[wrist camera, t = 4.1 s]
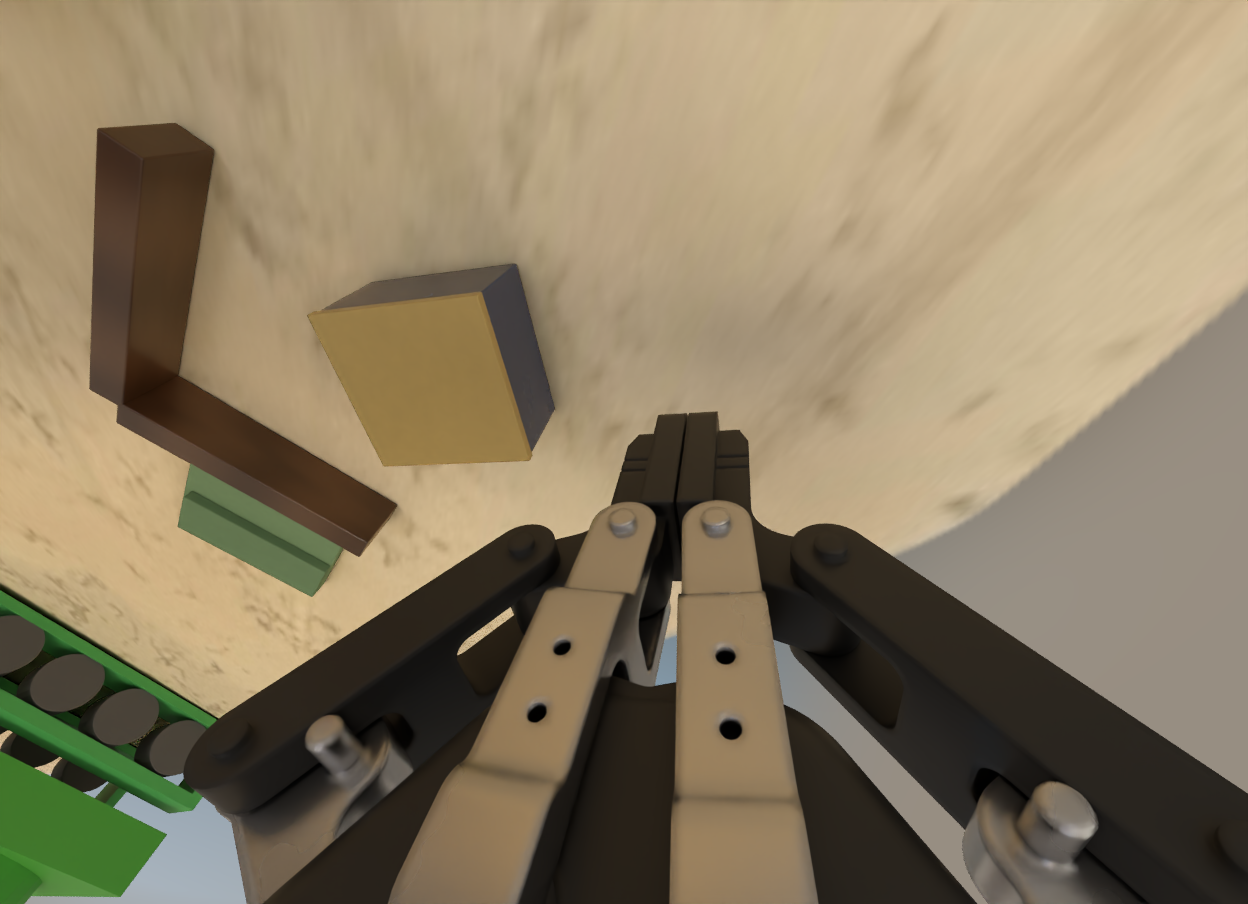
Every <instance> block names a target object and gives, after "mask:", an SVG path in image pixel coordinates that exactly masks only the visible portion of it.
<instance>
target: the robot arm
mask: <svg viewBox="0 0 1248 904" xmlns="http://www.w3.org/2000/svg"><path fill="white" fill-rule="evenodd" d="M624 460H625V461H624V462H623V465H622V469H621V470H622V471H621V472H620V476H619V479H618V483H617V486H616V489H615V493H614V496H613V500H612V503H611V506H609V507H607V508H605V509H603V510H602V511H600V512H599V513H598V514H597V515H596V516H595V518H594V519H593V521H592V523H591V526H590V528H589V530H588V531H586V532H583V533H580V534H577V535H573V536H569V537H565V538H561V539H557V540H555V537H554V534H553V533H552V531H551V530H550V529H548V528H546V527H544V526H541V525H533V524H531V525H524V526H520V527H516V528H514V529H512V530H510V531H508V532H506V533H505V534H503V535H501V536H500V537H498V538H497V539H495V540H494V541H492V542H491V543H489V544H487V545H486V546H484V547H483V548H481V549H480V550H478V551H477V552H475V553H474V554H472V555H470V556H469V557H467V558H466V559H464V560H463V561H461V562H460V563H458V564H457V565H455V566H453V567H452V568H450V569H449V570H447V571H446V572H444V573H443V574H441V575H440V576H438V577H436V578H435V579H433V580H432V581H430V582H429V583H427V584H426V585H424V586H423V587H421V588H419V589H418V590H416V591H415V592H413V593H412V594H410V595H409V596H407V597H406V598H404V599H402V600H401V601H399V602H398V603H396V604H395V605H393V606H392V607H390V608H389V609H387V610H385V611H384V612H382V613H381V614H379V615H378V616H376V617H375V618H373V619H371V620H370V621H368V622H367V623H365V624H364V625H362V626H361V627H359V628H358V629H356V630H354V631H353V632H351V633H350V634H348V635H347V636H345V637H344V638H342V639H341V640H339V641H337V642H336V643H334V644H333V645H331V646H330V647H328V648H327V649H325V650H324V651H322V652H320V653H319V654H317V655H316V656H314V657H313V658H311V659H310V660H308V661H307V662H305V663H303V664H302V665H300V666H299V667H297V668H296V669H294V670H293V671H291V672H290V673H288V674H286V675H285V676H283V677H282V678H280V679H279V680H277V681H276V682H274V683H273V684H271V685H269V686H268V687H266V688H265V689H263V690H262V691H260V692H259V693H257V694H256V695H254V696H252V697H251V698H249V699H248V700H246V701H245V702H243V703H242V704H240V705H238V706H237V707H235V708H234V709H232V710H231V711H229V712H228V713H226V714H225V715H223V716H222V717H221V718H219V719H218V720H217V721H216V722H214V723H213V724H212V725H211V726H210V727H209V728H208V729H207V730H206V731H205V732H204V733H203V734H202V735H201V736H200V738H199V739H198V740H197V742H196V743H195V744H194V746H193V747H192V749H191V751H190V752H189V754H188V757H187V759H186V762H185V765H184V771H183V775H184V780H185V782H186V783H187V784H188V785H189V786H190V787H191V788H192V789H194V790H195V791H196V792H197V793H199V794H200V795H201V796H203V797H204V798H205V799H207V800H208V801H209V802H210V803H212V804H213V805H215V808H216V810H217V811H218V812H219V813H220V814H221V815H222V816H223V817H225V818H226V819H227V820H229V821H230V822H231V823H232V828H233V833H234V838H235V844H236V849H237V854H238V860H239V864H240V870H241V876H242V881H243V886H244V891H245V897H246V902H247V904H977V903H976V902H975V901H974V899H973V898H972V897H971V896H970V895H969V894H968V893H967V891H966V890H965V889H964V888H963V887H962V886H961V884H960V883H959V882H958V881H957V880H956V879H955V878H954V876H953V875H952V874H951V873H950V872H949V870H948V869H947V868H946V867H945V866H944V865H943V864H942V862H941V861H940V860H939V859H938V858H937V857H936V856H935V854H934V853H933V852H932V851H931V850H930V848H929V847H928V846H927V845H926V844H925V843H924V842H923V840H922V839H921V838H920V837H919V836H918V835H917V833H916V832H915V831H914V830H913V829H912V828H911V827H910V825H909V824H908V823H907V822H906V821H905V820H904V818H903V817H902V816H901V815H900V814H899V813H898V811H897V810H896V809H895V808H894V807H893V806H892V805H891V803H890V802H889V801H888V800H887V799H886V797H885V796H884V795H883V794H882V793H881V792H880V790H878V788H877V787H876V786H875V785H874V784H873V782H872V781H871V780H870V779H869V778H868V777H867V775H866V774H865V773H864V772H863V771H862V770H861V768H860V767H859V766H858V765H857V764H856V763H855V761H854V760H853V759H852V758H851V757H850V756H849V755H848V753H847V752H846V751H845V750H844V749H843V748H842V746H841V745H840V744H839V743H838V742H837V741H836V740H835V739H834V738H833V737H832V736H831V735H830V734H829V733H827V732H826V731H825V730H824V729H823V728H822V727H820V726H819V725H818V724H817V723H815V722H814V721H812V720H811V719H810V718H808V717H807V716H805V715H803V714H801V713H800V712H798V711H796V710H795V709H793V708H790V707H788V706H786V705H784V704H783V698H782V691H781V685H780V679H779V673H778V666H777V660H776V654H775V648H774V642H773V640H776V641H779V642H782V643H785V644H788V645H790V649H791V651H792V653H793V655H794V657H795V658H796V659H797V660H798V661H799V662H800V663H801V664H802V665H803V666H804V667H805V668H806V669H807V670H808V671H809V672H810V673H811V674H812V675H813V676H814V677H815V678H816V679H817V680H818V681H819V682H820V683H821V684H822V685H823V686H824V687H825V689H826V690H827V691H828V692H829V693H830V694H831V695H832V696H833V697H834V698H836V700H837V701H838V702H839V703H840V704H841V705H842V706H843V707H844V708H845V709H846V710H847V711H848V712H849V713H850V714H851V715H852V716H853V717H854V718H855V719H856V720H857V721H858V722H859V723H860V724H861V725H862V726H863V727H864V728H865V729H866V730H867V731H868V732H869V733H870V734H871V735H872V736H873V737H874V738H875V739H876V740H877V741H878V742H879V743H880V744H881V745H882V746H883V747H884V748H885V749H886V750H887V751H888V752H889V753H890V754H891V755H892V756H893V757H894V758H895V759H896V760H897V761H898V762H899V763H900V764H901V766H903V768H904V769H905V770H907V771H908V773H909V774H910V775H911V776H912V777H913V778H914V779H915V780H916V781H917V782H918V783H919V784H920V785H921V786H922V787H923V788H924V789H925V790H926V791H927V792H928V793H929V794H930V795H931V796H932V797H933V798H934V799H935V800H936V801H937V802H938V803H939V804H940V805H941V806H942V807H943V808H944V809H945V810H946V811H947V812H948V813H949V814H950V815H951V816H952V817H953V818H954V819H955V820H956V821H957V822H958V823H959V824H960V825H961V826H962V827H963V828H964V829H965V832H964V836H963V841H962V843H963V844H962V850H963V856H964V861H965V865H966V867H967V870H968V873H969V875H970V877H971V879H972V881H973V883H974V884H975V886H976V888H977V889H978V891H979V892H980V893H981V895H982V896H983V898H984V899H985V900H986V901H987V903H988V904H1248V793H1246V792H1245V791H1243V790H1242V789H1240V788H1239V787H1237V786H1236V785H1234V784H1232V783H1231V782H1230V781H1228V780H1226V779H1225V778H1224V777H1222V776H1221V775H1219V774H1218V773H1216V772H1215V771H1213V770H1212V769H1210V768H1209V767H1207V766H1206V765H1204V764H1203V763H1201V762H1200V761H1198V760H1197V759H1195V758H1194V757H1192V756H1190V755H1189V754H1188V753H1186V752H1185V751H1183V750H1182V749H1180V748H1179V747H1177V746H1176V745H1174V744H1173V743H1171V742H1170V741H1168V740H1167V739H1165V738H1164V737H1162V736H1161V735H1159V734H1158V733H1156V732H1155V731H1153V730H1152V729H1150V728H1149V727H1147V726H1146V725H1144V724H1143V723H1141V722H1140V721H1138V720H1137V719H1135V718H1134V717H1132V716H1131V715H1129V714H1128V713H1126V712H1125V711H1123V710H1122V709H1120V708H1119V707H1117V706H1116V705H1114V704H1113V703H1111V702H1110V701H1108V700H1107V699H1105V698H1104V697H1102V696H1101V695H1099V694H1098V693H1096V692H1095V691H1093V690H1092V689H1090V688H1089V687H1088V686H1086V685H1084V684H1083V683H1081V682H1080V681H1078V680H1077V679H1076V678H1074V677H1072V676H1071V675H1070V674H1068V673H1066V672H1065V671H1063V670H1062V669H1060V668H1059V667H1057V666H1056V665H1054V664H1053V663H1051V662H1050V661H1049V660H1047V659H1045V658H1044V657H1043V656H1041V655H1039V654H1038V653H1037V652H1035V651H1033V650H1032V649H1031V648H1029V647H1028V646H1026V645H1025V644H1023V643H1022V642H1020V641H1018V640H1017V639H1016V638H1014V637H1013V636H1011V635H1010V634H1008V633H1007V632H1005V631H1004V630H1002V629H1001V628H999V627H998V626H996V625H995V624H993V623H992V622H990V621H989V620H987V619H986V618H984V617H983V616H981V615H980V614H978V613H977V612H975V611H974V610H972V609H970V608H969V607H968V606H966V605H965V604H963V603H962V602H960V601H959V600H957V599H956V598H954V597H953V596H951V595H950V594H948V593H947V592H945V591H944V590H942V589H941V588H939V587H938V586H936V585H935V584H933V583H932V582H930V581H929V580H927V579H926V578H924V577H923V576H921V575H920V574H918V573H917V572H915V571H914V570H912V569H911V568H909V567H908V566H906V565H905V564H904V563H902V562H901V561H899V560H897V559H896V558H895V557H893V556H892V555H890V554H889V553H887V552H886V551H884V550H883V549H881V548H880V547H878V546H877V545H875V544H874V543H872V542H871V541H869V540H868V539H866V538H865V537H863V536H862V535H860V534H859V533H857V532H855V531H854V530H852V529H849V528H847V527H844V526H840V525H835V524H816V525H811V526H808V527H806V528H803V529H802V530H800V531H799V532H797V533H796V534H795V536H794V537H792V536H788V535H784V534H780V533H777V532H774V531H771V530H769V529H767V528H766V527H764V526H763V525H761V524H760V523H759V522H758V521H757V520H756V519H755V517H754V516H753V514H752V511H751V497H750V472H749V446H748V440H747V439H746V438H745V436H744V435H743V434H742V433H741V432H740V430H726V431H719V419H718V412H700V413H689V414H688V415H687V413H683V414H665V415H658V418H657V422H656V427H655V431H654V434H643V435H638V437H637V438H636V439H635V440H634V441H633V442H632V443H631V444H630V445H629V446H628V448H627V452H626V455H625V459H624ZM672 581H682V592H681V594H679V595H678V610H677V675H676V679H677V680H676V682H675V683H669V684H663V685H658V686H655V681H656V676H657V672H658V667H659V663H660V657H661V653H662V648H663V644H664V639H665V634H666V630H667V625H668V620H669V616H670V610H671V606H670V595H671V588H672ZM510 607H511V608H512V611H513V613H514V616H512V617H511V618H510V619H508V620H507V621H506V622H504V623H503V624H501V625H500V626H499V627H497V628H496V629H495V630H493V631H492V632H491V633H489V634H488V635H487V636H485V637H484V638H483V639H481V640H480V641H479V642H477V643H476V644H475V645H473V646H472V647H471V648H469V649H468V650H467V651H465V652H464V653H462V654H460V655H457V653H458V650H459V648H460V646H461V645H462V643H463V642H464V641H465V640H466V639H467V638H469V637H470V636H471V635H473V634H474V633H475V632H477V631H478V630H480V629H481V628H482V627H484V626H485V625H486V624H488V623H489V622H490V621H492V620H493V619H495V618H496V617H497V616H499V615H500V614H501V613H503V612H504V611H505V610H507V609H508V608H510Z"/></svg>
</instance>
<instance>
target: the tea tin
mask: <svg viewBox="0 0 1248 904" xmlns="http://www.w3.org/2000/svg"><path fill="white" fill-rule="evenodd" d="M307 316H308V318H309V320H310V322H311V324H312V326H313V328H314V330H315V332H316V334H317V336H318V338H319V340H320V342H321V344H322V346H323V348H324V350H325V352H326V354H327V356H328V358H329V360H330V362H331V364H332V366H333V368H334V370H335V372H336V374H337V375H338V377H339V379H340V381H341V383H342V385H343V387H344V389H345V391H346V393H347V395H348V397H349V399H350V401H351V403H352V405H353V407H354V409H355V411H356V413H357V415H358V417H359V419H360V421H361V423H362V425H363V427H364V429H365V431H366V433H367V435H368V437H369V439H370V441H371V443H372V444H373V446H374V448H375V450H376V452H377V454H378V456H379V458H380V460H381V462H382V464H383V466H407V465H433V464H459V463H484V462H510V461H529V460H530V459H531V457H532V451H533V449H534V447H535V445H536V443H537V441H538V439H539V438H540V436H541V434H542V432H543V430H544V428H545V426H546V425H547V423H548V421H549V419H550V417H551V415H552V413H553V412H554V410H555V407H554V404H553V400H552V396H551V392H550V389H549V385H548V381H547V377H546V374H545V370H544V366H543V362H542V359H541V355H540V351H539V347H538V344H537V340H536V336H535V332H534V329H533V325H532V321H531V317H530V314H529V310H528V306H527V302H526V299H525V295H524V291H523V287H522V284H521V280H520V276H519V272H518V269H517V265H516V264H508V265H501V266H493V267H485V268H478V269H470V270H462V271H455V272H447V273H439V274H432V275H424V276H416V277H409V278H401V279H393V280H386V281H378V282H371V283H370V284H368V285H366V286H364V287H362V288H360V289H359V290H357V291H355V292H353V293H351V294H350V295H348V296H346V297H344V298H342V299H341V300H339V301H337V302H335V303H333V304H331V305H330V306H328V307H326V308H324V309H322V310H321V311H315V312H312V313H310V314H308V315H307Z"/></svg>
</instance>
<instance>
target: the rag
mask: <svg viewBox="0 0 1248 904" xmlns="http://www.w3.org/2000/svg"><path fill="white" fill-rule="evenodd" d="M178 527H179V528H181V529H183V530H185V531H187V532H189V533H191V534H192V535H194V536H196V537H198V538H200V539H202V540H204V541H206V542H208V543H210V544H212V545H213V546H215V547H217V548H219V549H221V550H223V551H225V552H227V553H229V554H231V555H233V556H234V557H236V558H238V559H240V560H242V561H244V562H246V563H248V564H250V565H252V566H254V567H255V568H257V569H259V570H261V571H263V572H265V573H267V574H269V575H271V576H273V577H275V578H276V579H278V580H280V581H282V582H284V583H286V584H288V585H290V586H292V587H294V588H296V589H297V590H299V591H301V592H303V593H305V594H307V595H309V596H311V597H312V596H313V595H314V594H315V593H316V592H317V591H318V590H319V589H320V588H321V586H322V585H323V584H324V582H325V581H326V579H327V577H328V575H329V573H330V572H331V570H332V568H333V566H334V565H335V563H336V561H337V559H338V557H339V556H340V554H341V552H342V550H343V548H342V547H340V546H338V545H336V544H335V543H333V542H331V541H329V540H327V539H326V538H324V537H322V536H320V535H318V534H317V533H315V532H313V531H311V530H309V529H307V528H306V527H304V526H302V525H300V524H298V523H297V522H295V521H293V520H291V519H289V518H288V517H286V516H284V515H282V514H280V513H279V512H277V511H275V510H273V509H271V508H270V507H268V506H266V505H264V504H262V503H261V502H259V501H257V500H255V499H253V498H252V497H250V496H248V495H246V494H244V493H243V492H241V491H239V490H237V489H235V488H234V487H232V486H230V485H228V484H226V483H225V482H223V481H221V480H219V479H217V478H216V477H214V476H212V475H210V474H208V473H206V472H205V471H203V470H201V469H199V468H197V467H196V466H194V465H192V464H190V468H189V473H188V478H187V483H186V487H185V492H184V497H183V502H182V507H181V511H180V516H179V522H178Z"/></svg>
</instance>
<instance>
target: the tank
mask: <svg viewBox="0 0 1248 904" xmlns="http://www.w3.org/2000/svg"><path fill="white" fill-rule="evenodd" d="M41 650H42V651H44V652H46V653H48V654H49V655H51V656H53V657H55V658H57V659H54V660H52V661H50V662H48V663H46V664H44V665H42V666H40V667H38V668H36V669H34V670H33V671H32V672H30V673H29V674H28V675H27V676H26V677H25V678H24V679H23V680H22V682H21V683H20V685H19V686H18V685H16V684H14V683H12V682H11V681H9V680H7V679H5V678H3V677H2V676H5V675H7V674H9V673H11V672H13V671H15V670H17V669H19V668H21V667H23V666H25V665H27V664H28V663H30V662H31V661H32V660H33V659H34V658H36V657H37V656H38V654H39V653H40V652H41ZM102 685H104V686H106V687H107V688H109V689H111V690H113V691H114V692H116V693H115V694H113V695H110V696H107V697H105V698H102V699H100V700H98V701H97V702H95V703H94V704H93V705H91V706H90V707H89V708H88V709H87V710H86V711H85V712H84V714H83V716H82V717H81V719H80V718H78V717H76V716H75V715H73V714H71V713H69V712H67V711H69V710H72V709H75V708H77V707H79V706H82V705H83V704H85V703H87V702H88V701H90V700H91V699H92V698H93V697H94V696H95V695H96V694H97V693H98V692H99V690H100V689H101V687H102ZM157 717H160V718H162V719H164V720H165V721H167V722H169V723H171V724H168V725H165V726H162V727H159V728H157V729H155V730H153V731H152V732H150V733H149V734H147V735H146V736H145V737H144V738H143V739H142V741H141V742H140V743H139V745H138V747H137V748H135V747H133V746H131V745H129V744H127V743H130V742H133V741H135V740H137V739H139V738H141V737H142V736H143V735H145V734H146V733H147V732H148V731H149V730H150V729H151V728H152V726H153V725H154V724H155V722H156V720H157ZM216 721H217V720H216V719H215V718H213V717H211V716H210V715H208V714H206V713H205V712H203V711H201V710H200V709H198V708H196V707H195V706H193V705H191V704H190V703H188V702H186V701H185V700H183V699H181V698H180V697H178V696H176V695H175V694H173V693H171V692H170V691H168V690H166V689H165V688H163V687H161V686H160V685H158V684H156V683H155V682H153V681H151V680H150V679H148V678H146V677H144V676H143V675H141V674H139V673H138V672H136V671H134V670H133V669H131V668H129V667H128V666H126V665H124V664H123V663H121V662H119V661H118V660H116V659H114V658H113V657H111V656H109V655H108V654H106V653H104V652H103V651H101V650H99V649H98V648H96V647H94V646H93V645H91V644H89V643H88V642H86V641H84V640H83V639H81V638H79V637H78V636H76V635H74V634H73V633H71V632H69V631H68V630H66V629H64V628H62V627H61V626H59V625H57V624H56V623H54V622H52V621H51V620H49V619H47V618H46V617H44V616H42V615H41V614H39V613H37V612H36V611H34V610H32V609H31V608H29V607H27V606H26V605H24V604H22V603H21V602H19V601H17V600H16V599H14V598H12V597H11V596H9V595H7V594H6V593H4V592H2V591H1V590H0V734H2V733H4V732H5V731H7V730H9V731H11V732H13V733H12V734H11V735H10V736H9V737H8V738H7V739H6V740H5V741H4V743H3V744H2V747H1V749H0V904H24V903H25V902H26V901H27V900H28V899H29V898H30V897H31V896H84V897H86V896H87V897H90V896H91V897H121V895H122V894H123V892H124V891H125V890H126V889H127V887H128V886H129V885H130V883H131V882H132V881H133V879H134V878H135V877H136V875H137V874H138V872H139V871H140V870H141V869H142V867H143V866H144V865H145V863H146V862H147V861H148V859H149V858H150V857H151V855H152V854H153V853H154V851H155V850H156V849H157V847H158V846H159V844H160V843H161V842H162V841H163V839H164V838H165V837H166V835H167V834H165V833H163V832H161V831H159V830H157V829H155V828H153V827H151V826H149V825H147V824H145V823H143V822H141V821H139V820H137V819H135V818H133V817H131V816H129V815H127V814H124V813H123V812H121V811H119V810H117V809H115V808H113V807H114V806H115V804H116V803H117V802H118V801H119V800H120V799H121V798H122V796H123V795H124V794H125V793H126V792H129V793H131V794H133V795H135V796H137V797H138V798H140V799H142V800H144V801H146V802H148V803H150V804H152V805H154V806H156V807H158V808H160V809H162V810H163V811H165V812H167V813H176V812H184V811H192V810H193V809H194V808H195V806H196V805H197V804H198V802H199V801H200V800H201V798H202V797H203V796H201V795H200V794H199V793H197V792H196V791H195V790H194V789H192V788H191V787H190V786H189V785H188V784H187V783H186V782H185V780H184V779H183V781H182V782H181V783H180V784H179V786H177V785H175V784H173V783H172V782H170V781H168V780H166V779H164V778H163V777H166V776H173V775H177V774H181V773H183V771H184V765H185V762H186V759H187V757H188V754H189V752H190V751H191V749H192V747H193V746H194V744H195V743H196V742H197V740H198V739H199V738H200V736H201V735H202V734H203V733H204V732H205V731H206V730H207V729H208V728H209V727H210V726H211V725H212V724H213V723H214V722H216ZM58 757H61V758H62V759H61V760H60V761H59V762H58V763H57V764H56V766H55V767H54V769H53V771H52V774H51V776H49V775H47V774H45V773H43V772H41V771H39V770H37V769H35V767H39V766H42V765H45V764H48V763H50V762H52V761H54V760H55V759H57V758H58ZM107 781H108V782H109V783H108V784H107V785H106V786H105V787H104V789H103V790H102V791H101V792H100V793H99V794H98V795H97V796H96V798H93V797H91V796H89V795H87V794H85V793H83V792H86V791H91V790H94V789H96V788H98V787H100V786H101V785H103V784H104V783H105V782H107Z"/></svg>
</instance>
